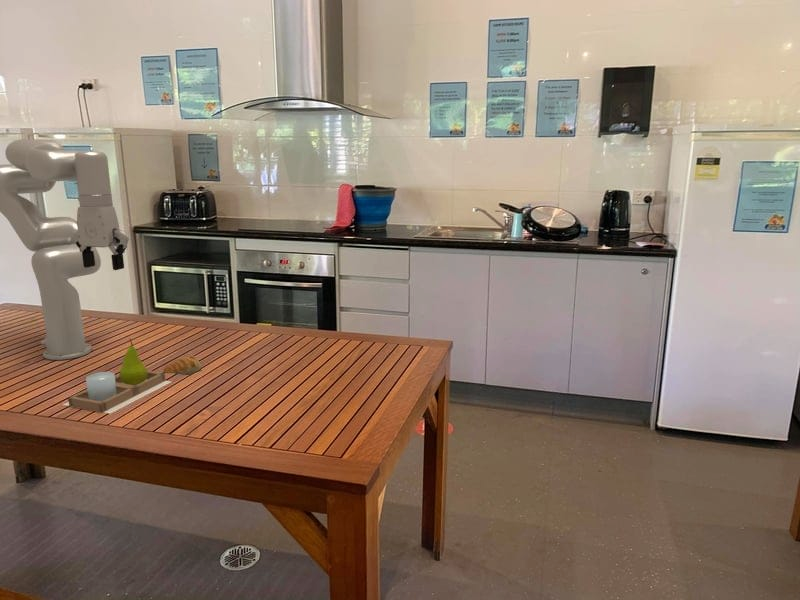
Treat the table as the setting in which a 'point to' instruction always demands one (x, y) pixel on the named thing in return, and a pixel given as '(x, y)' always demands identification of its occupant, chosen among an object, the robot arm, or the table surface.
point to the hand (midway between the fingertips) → (104, 267)
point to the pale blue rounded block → (101, 386)
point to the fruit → (132, 368)
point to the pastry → (184, 366)
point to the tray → (119, 394)
